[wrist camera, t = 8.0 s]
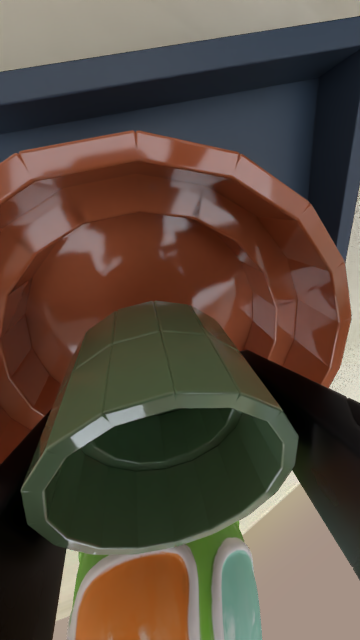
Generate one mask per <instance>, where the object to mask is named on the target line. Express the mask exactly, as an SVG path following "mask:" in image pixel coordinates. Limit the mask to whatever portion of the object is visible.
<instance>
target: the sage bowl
mask: <svg viewBox="0 0 360 640" xmlns="http://www.w3.org/2000/svg"><path fill="white" fill-rule="evenodd" d="M298 441H299V437H298V433H297V432H296V430H295V429H294V427H293V425H292V424H291V422H290V421H289V419H288V418H287V416H286V414H285V413H284V411H283V410H282V408H281V407H280V406H279V404H278V403H277V401H276V400H275V399H274V397H273V396H272V395H271V393H270V392H269V391H268V389H267V388H266V387H265V385H264V384H263V382H262V381H261V380H260V378H259V377H258V376H257V374H256V373H255V372H254V370H253V369H252V368H251V366H250V365H249V363H248V362H247V361H246V359H245V358H244V357H243V355H242V354H241V353H240V351H239V350H238V349H237V347H236V346H235V345H234V343H233V342H232V340H231V339H230V338H229V336H228V335H227V334H226V332H225V331H224V330H223V328H222V327H221V326H220V324H219V323H218V321H216V320H215V319H214V318H212V317H211V316H209V315H207V314H205V313H204V312H202V311H200V310H198V309H197V308H195V307H193V306H191V305H188V304H180V303H172V302H164V301H149V302H145V303H141V304H137V305H133V306H129V307H125V308H121V309H118V310H117V311H114V312H113V313H111V314H110V315H108V316H107V317H106V318H104V319H103V320H101V321H100V322H99V323H97V324H96V325H94V326H93V327H92V328H90V329H89V330H88V331H87V332H86V333H85V334H84V336H83V338H82V340H81V342H80V343H79V345H78V347H77V349H76V350H75V352H74V354H73V356H72V358H71V360H70V363H69V366H68V368H67V371H66V373H65V376H64V379H63V381H62V384H61V386H60V389H59V392H58V394H57V397H56V399H55V403H54V404H53V407H52V409H51V412H50V415H49V417H48V420H47V422H46V425H45V428H44V430H43V433H42V435H41V438H40V441H39V443H38V446H37V448H36V451H35V454H34V456H33V459H32V461H31V464H30V466H29V469H28V472H27V474H26V477H25V479H24V482H23V485H22V487H21V496H22V502H23V508H24V513H25V519H26V523H27V524H28V526H29V527H31V528H32V529H33V530H35V531H36V532H37V533H38V534H40V535H41V536H42V537H44V538H45V539H46V540H47V541H49V542H50V543H51V544H53V545H55V546H58V547H62V548H66V549H70V550H74V551H78V552H82V553H86V554H93V555H133V554H135V555H136V554H141V553H147V552H152V551H158V550H163V549H169V548H174V547H178V546H181V545H183V544H186V543H189V542H192V541H195V540H198V539H201V538H204V537H207V536H209V535H212V534H214V533H217V532H218V531H220V530H222V529H224V528H226V527H228V526H230V525H231V524H233V523H235V522H237V521H239V520H241V519H243V518H244V517H246V516H248V515H249V514H251V513H252V512H253V511H254V510H256V509H257V508H258V507H259V506H260V505H262V504H263V503H264V502H265V501H266V500H268V499H269V498H270V497H271V496H273V495H274V494H275V493H276V492H277V491H278V490H279V488H280V487H281V485H282V484H283V482H284V481H285V479H286V478H287V476H288V475H289V474H290V472H291V471H292V469H293V468H294V466H295V463H296V456H297V448H298Z"/></svg>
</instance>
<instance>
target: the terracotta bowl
mask: <svg viewBox="0 0 360 640" xmlns="http://www.w3.org/2000/svg"><path fill="white" fill-rule="evenodd" d="M149 301H164V302H172V303H180V304H188V305H191V306H193V307H195V308H197V309H198V310H200V311H202V312H204V313H205V314H207V315H209V316H211V317H212V318H214V319H215V320H216V321H218V323H219V324H220V326H221V327H222V328H223V330H224V331H225V332H226V334H227V335H228V336H229V338H230V339H231V340H232V342H233V343H234V345H235V346H236V347H237V349H238V350H239V351H243V350H249V351H252V352H254V353H256V354H258V355H260V356H262V357H264V358H266V359H268V360H270V361H273V362H275V363H277V364H279V365H281V366H283V367H285V368H287V369H289V370H291V371H293V372H296V373H298V374H300V375H302V376H304V377H306V378H308V379H310V380H312V381H314V382H317V383H319V384H321V385H323V386H325V387H327V388H329V386H330V385H331V383H332V381H333V379H334V377H335V375H336V374H337V372H338V370H339V368H340V365H341V362H342V358H343V354H344V349H345V345H346V340H347V336H348V332H349V327H350V323H351V316H352V315H351V307H350V299H349V291H348V283H347V275H346V267H345V262H344V259H343V257H342V256H341V254H340V252H339V251H338V249H337V247H336V245H335V244H334V242H333V240H332V239H331V237H330V235H329V233H328V232H327V230H326V228H325V227H324V225H323V223H322V221H321V220H320V218H319V216H318V215H317V213H316V211H315V209H314V208H313V206H312V204H310V203H309V201H308V200H306V199H305V198H303V197H302V196H301V195H299V194H298V193H296V192H295V191H294V190H292V189H291V188H289V187H288V186H287V185H285V184H284V183H282V182H281V181H280V180H278V179H277V178H275V177H274V176H273V175H271V174H270V173H268V172H267V171H266V170H264V169H263V168H261V167H260V166H259V165H257V164H256V163H254V162H253V161H252V160H250V159H249V158H247V157H246V156H245V155H243V154H239V152H237V151H232V150H228V149H223V148H218V147H214V146H209V145H205V144H200V143H195V142H191V141H186V140H182V139H177V138H172V137H168V136H163V135H159V134H154V133H149V132H145V131H140V130H137V131H136V132H135V131H133V130H129V131H124V132H119V133H113V134H108V135H102V136H97V137H91V138H86V139H81V140H75V141H70V142H64V143H59V144H54V145H48V146H43V147H37V148H32V149H26V150H21V151H20V152H19V153H14V154H12V155H11V156H10V157H8V158H7V159H5V160H4V161H2V162H1V163H0V464H1V463H2V462H3V461H4V460H5V459H6V458H7V457H8V456H9V455H10V453H11V452H12V451H13V450H14V449H15V448H16V447H17V446H18V445H19V444H20V442H21V441H22V440H23V439H24V438H25V437H26V436H27V435H28V434H29V433H30V432H31V430H32V429H33V428H34V427H35V426H36V425H37V424H38V423H39V422H40V421H41V419H42V418H43V417H44V416H45V415H46V414H47V413H48V412H49V411H50V410H51V408H52V407H53V404H54V403H55V399H56V397H57V394H58V392H59V389H60V386H61V384H62V381H63V379H64V376H65V373H66V371H67V368H68V366H69V363H70V360H71V358H72V356H73V354H74V352H75V350H76V349H77V347H78V345H79V343H80V342H81V340H82V338H83V336H84V334H85V333H86V332H87V331H88V330H89V329H90V328H92V327H93V326H94V325H96V324H97V323H99V322H100V321H101V320H103V319H104V318H106V317H107V316H108V315H110V314H111V313H113V312H114V311H117V310H118V309H121V308H125V307H129V306H133V305H137V304H141V303H145V302H149Z"/></svg>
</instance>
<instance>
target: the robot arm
mask: <svg viewBox="0 0 360 640" xmlns="http://www.w3.org/2000/svg"><path fill="white" fill-rule="evenodd" d="M240 353H241V354H242V355H243V357H244V358H245V359H246V361H247V362H248V363H249V365H250V366H251V368H252V369H253V370H254V372H255V373H256V374H257V376H258V377H259V378H260V380H261V381H262V382H263V384H264V385H265V387H266V388H267V389H268V391H269V392H270V393H271V395H272V396H273V397H274V399H275V400H276V401H277V403H278V404H279V406H280V407H281V408H282V410H283V411H284V413H285V414H286V416H287V418H288V419H289V421H290V422H291V424H292V425H293V427H294V429H295V430H296V432H297V433H298V437H299V441H298V448H297V456H296V463H295V466H294V468H293V469H292V471H293V472H294V474H295V475H296V477H297V479H298V480H299V482H300V484H301V485H302V487H303V488H304V490H305V492H306V493H307V495H308V496H309V498H310V500H311V501H312V503H313V505H314V506H315V508H316V509H317V511H318V513H319V514H320V516H321V517H322V519H323V521H324V522H325V524H326V526H327V527H328V529H329V531H330V532H331V534H332V535H333V537H334V539H335V540H336V542H337V543H338V545H339V547H340V548H341V550H342V552H343V553H344V555H345V556H346V558H347V560H348V561H349V563H350V565H351V566H352V567H354V568H353V570H354V571H355V573H356V575H357V576H358V578H359V580H360V403H359V402H357V401H354V400H352V399H350V398H348V399H347V397H346V396H344V395H342V394H340V393H337V392H335V391H333V390H331V389H329V388H327V387H325V386H323V385H321V384H319V383H317V382H314V381H312V380H310V379H308V378H306V377H304V376H302V375H300V374H298V373H296V372H293V371H291V370H289V369H287V368H285V367H283V366H281V365H279V364H277V363H275V362H273V361H270V360H268V359H266V358H264V357H262V356H260V355H258V354H256V353H254V352H252V351H249V350H243V351H240ZM51 409H52V408H51ZM50 412H51V410H50V411H49V412H48V413H47V414H46V415H45V416H44V417H43V418H42V419H41V421H40V422H39V423H38V424H37V425H36V426H35V427H34V428H33V429H32V430H31V432H30V433H29V434H28V435H27V436H26V437H25V438H24V439H23V440H22V441H21V442H20V444H19V445H18V446H17V447H16V448H15V449H14V450H13V451H12V452H11V453H10V455H9V456H8V457H7V458H6V459H5V460H4V461H3V462H2V463H1V464H0V640H52V639H53V632H54V626H55V619H56V613H57V606H58V600H59V593H60V587H61V580H62V574H63V567H64V561H65V554H66V548H62V547H58V546H55V545H53V544H51V543H50V542H49V541H47V540H46V539H45V538H44V537H42V536H41V535H40V534H38V533H37V532H36V531H35V530H33V529H32V528H31V527H29V526H28V524H27V523H26V519H25V513H24V508H23V502H22V496H21V487H22V485H23V482H24V479H25V477H26V474H27V472H28V469H29V466H30V464H31V461H32V459H33V456H34V454H35V451H36V448H37V446H38V443H39V441H40V438H41V435H42V433H43V430H44V428H45V425H46V422H47V420H48V417H49V415H50Z"/></svg>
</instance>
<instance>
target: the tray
mask: <svg viewBox="0 0 360 640" xmlns="http://www.w3.org/2000/svg"><path fill="white" fill-rule="evenodd" d="M129 130H133V131H135V132H136V131H137V130H140V131H145V132H149V133H154V134H159V135H163V136H168V137H172V138H177V139H182V140H186V141H191V142H195V143H200V144H205V145H209V146H214V147H218V148H223V149H228V150H232V151H237V152H239V154H243V155H245V156H246V157H247V158H249V159H250V160H252V161H253V162H254V163H256V164H257V165H259V166H260V167H261V168H263V169H264V170H266V171H267V172H268V173H270V174H271V175H273V176H274V177H275V178H277V179H278V180H280V181H281V182H282V183H284V184H285V185H287V186H288V187H289V188H291V189H292V190H294V191H295V192H296V193H298V194H299V195H301V196H302V197H303V198H305V199H306V200H308V201H309V203H310V204H312V206H313V208H314V209H315V211H316V213H317V215H318V216H319V218H320V220H321V221H322V223H323V225H324V227H325V228H326V230H327V232H328V233H329V235H330V237H331V239H332V240H333V242H334V244H335V245H336V247H337V249H338V251H339V252H340V254H341V256H342V257H343V259H344V262H345V261H346V256H347V250H348V245H349V239H350V234H351V229H352V223H353V218H354V212H355V207H356V201H357V196H358V191H359V185H360V16H357V17H351V18H345V19H338V20H332V21H325V22H319V23H312V24H306V25H299V26H293V27H287V28H280V29H274V30H267V31H261V32H254V33H248V34H241V35H235V36H228V37H222V38H216V39H209V40H203V41H196V42H190V43H183V44H177V45H170V46H164V47H158V48H151V49H145V50H138V51H132V52H125V53H119V54H112V55H106V56H100V57H93V58H87V59H80V60H74V61H67V62H61V63H54V64H48V65H41V66H35V67H29V68H22V69H16V70H9V71H3V72H0V163H1V162H2V161H4V160H5V159H7V158H8V157H10V156H11V155H12V154H14V153H19V152H20V151H21V150H26V149H32V148H37V147H43V146H48V145H54V144H59V143H64V142H70V141H75V140H81V139H86V138H91V137H97V136H102V135H108V134H113V133H119V132H124V131H129Z"/></svg>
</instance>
